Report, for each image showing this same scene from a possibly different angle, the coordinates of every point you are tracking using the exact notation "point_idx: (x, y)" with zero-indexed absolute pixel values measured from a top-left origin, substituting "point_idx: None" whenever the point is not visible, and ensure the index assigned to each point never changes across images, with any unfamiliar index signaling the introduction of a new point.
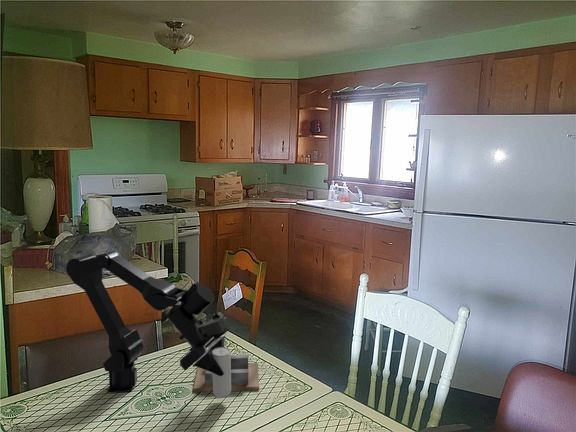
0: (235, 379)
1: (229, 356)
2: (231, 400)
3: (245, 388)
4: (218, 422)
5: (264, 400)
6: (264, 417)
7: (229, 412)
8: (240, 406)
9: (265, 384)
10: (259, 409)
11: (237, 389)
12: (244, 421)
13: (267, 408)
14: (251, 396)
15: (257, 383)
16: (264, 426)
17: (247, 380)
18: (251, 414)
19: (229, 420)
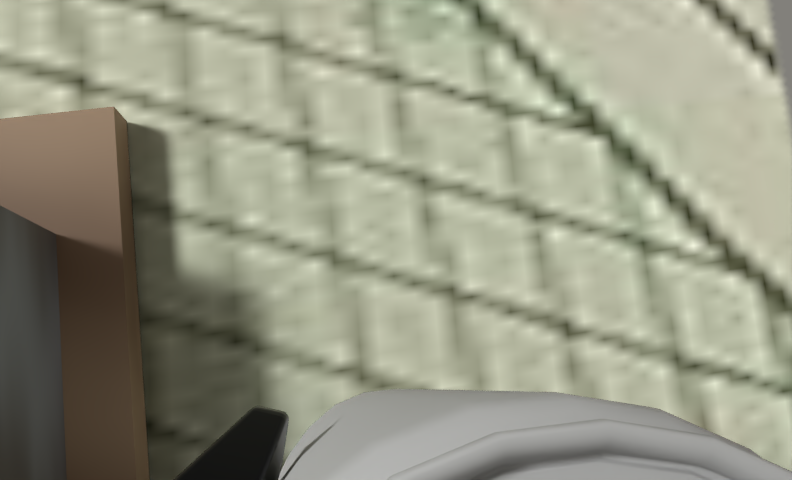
0: (34, 388)
1: (657, 414)
2: (351, 392)
3: (128, 262)
4: (769, 459)
5: (329, 53)
6: (620, 33)
7: (581, 376)
8: (459, 278)
9: (3, 66)
10: (494, 88)
11: (138, 355)
12: (711, 205)
13: (469, 17)
14: (258, 188)
15: (39, 131)
16: (756, 24)
17: (35, 234)
18: (588, 153)
19: (718, 352)
